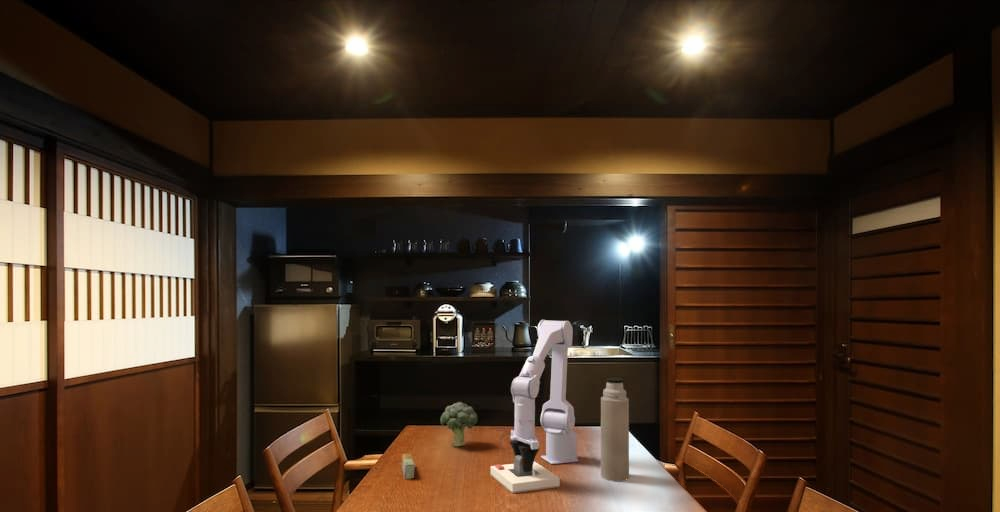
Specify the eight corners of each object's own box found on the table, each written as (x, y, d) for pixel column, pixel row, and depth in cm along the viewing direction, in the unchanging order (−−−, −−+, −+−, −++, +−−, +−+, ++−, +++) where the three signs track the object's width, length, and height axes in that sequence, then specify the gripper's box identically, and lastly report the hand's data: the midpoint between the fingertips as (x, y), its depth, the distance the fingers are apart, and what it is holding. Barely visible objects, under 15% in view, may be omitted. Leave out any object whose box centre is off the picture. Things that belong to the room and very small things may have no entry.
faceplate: (534, 469, 169) (534, 459, 169) (559, 486, 154) (559, 475, 154) (490, 474, 163) (490, 464, 164) (512, 493, 149) (512, 481, 149)
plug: (526, 473, 161) (526, 453, 162) (532, 478, 158) (532, 457, 158) (513, 475, 160) (513, 455, 160) (519, 480, 156) (519, 459, 156)
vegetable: (434, 444, 195) (435, 400, 195) (465, 439, 202) (466, 396, 203) (452, 452, 185) (453, 406, 186) (484, 447, 192) (485, 402, 193)
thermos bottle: (603, 471, 168) (603, 375, 170) (630, 474, 165) (630, 377, 167) (598, 479, 160) (598, 379, 162) (627, 482, 158) (627, 381, 160)
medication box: (414, 479, 159) (415, 465, 159) (404, 480, 158) (405, 465, 159) (410, 466, 171) (411, 453, 171) (401, 467, 170) (402, 453, 170)
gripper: (501, 415, 165) (501, 462, 164) (522, 426, 152) (521, 478, 151) (523, 413, 168) (523, 460, 167) (545, 424, 154) (545, 475, 153)
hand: (524, 468), depth 159 cm, fingers closed on plug, 4 cm apart
